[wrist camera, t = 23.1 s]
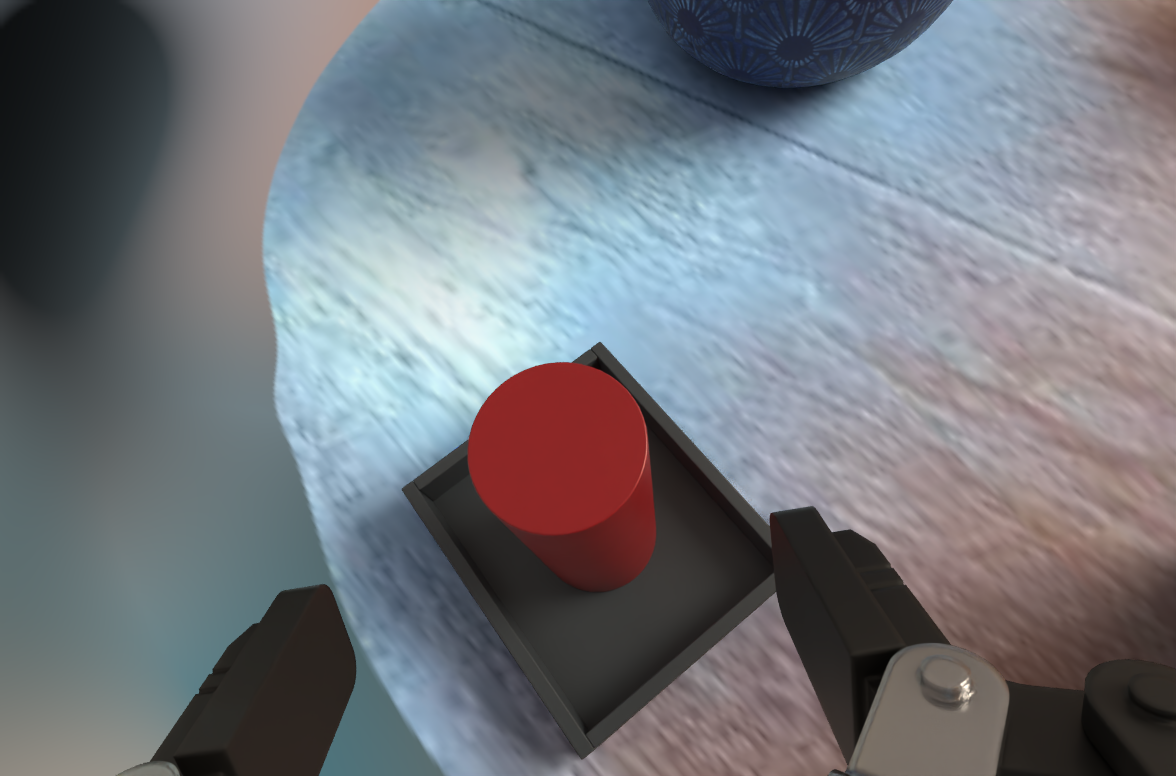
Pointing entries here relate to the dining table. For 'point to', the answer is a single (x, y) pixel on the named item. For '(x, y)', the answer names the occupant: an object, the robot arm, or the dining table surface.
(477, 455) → the plain red cylinder
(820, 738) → the dining table surface
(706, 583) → the tray
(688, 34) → the planter
